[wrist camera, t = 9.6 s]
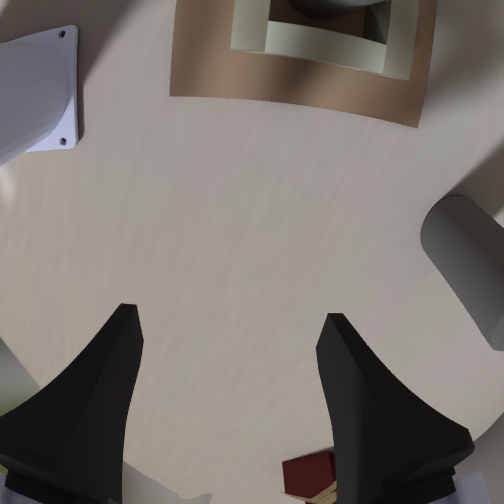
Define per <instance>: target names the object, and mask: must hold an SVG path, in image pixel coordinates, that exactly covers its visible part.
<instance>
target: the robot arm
mask: <svg viewBox="0 0 504 504" xmlns="http://www.w3.org/2000/svg"><path fill="white" fill-rule="evenodd" d="M63 31H65V36H64V37H63V38H62V37H61V33H62V32H63ZM77 44H78V28H77V26H75V25H67V26H63V27H59V28H54V29H50V30H46V31H42V32H39V33H35V34H31V35H28V36H25V37H21V38H18V39H15V40H12V41H9V42H5V43H0V167H1V166H2V165H4V164H5V163H7V162H9V161H10V160H12V159H13V158H15V157H16V156H18V155H20V154H21V153H23V152H32V151H43V150H56V149H71V148H74V147H75V146H76V145H77V144H78V141H79V137H78V120H77ZM63 138H65V139H66V141H67V142H66V144H64V143H63ZM143 343H144V340H143V335H142V330H141V325H140V320H139V315H138V310H137V305H134V304H123V303H121V304H120V305H119V306H118V308H117V309H116V310H115V311H114V313H113V314H112V315H111V317H110V318H109V319H108V320H107V322H106V323H105V324H104V325H103V327H102V328H101V329H100V331H99V332H98V333H97V334H96V335H95V337H94V338H93V339H92V340H91V341H90V343H89V344H88V345H87V346H86V347H85V348H84V349H83V350H82V352H81V353H80V354H79V355H78V356H77V357H76V358H75V359H74V360H73V361H72V362H71V363H70V364H69V365H68V366H67V367H66V368H65V369H64V370H63V371H62V372H61V373H60V374H59V375H58V376H57V377H56V378H55V379H54V380H52V381H51V382H50V383H49V384H48V385H47V386H45V387H44V388H43V389H42V390H40V391H39V392H38V393H37V394H35V395H34V396H32V397H31V398H30V399H28V400H27V401H25V402H24V403H23V404H21V405H20V406H18V407H16V408H15V409H13V410H11V411H10V412H8V413H6V414H4V415H3V416H1V417H0V464H1V465H2V466H4V467H5V468H7V469H8V470H9V471H8V474H7V475H5V474H3V473H1V472H0V504H122V463H123V448H124V437H125V428H126V420H127V415H128V410H129V406H130V402H131V398H132V394H133V390H134V386H135V383H136V379H137V375H138V371H139V367H140V363H141V356H142V349H143ZM316 353H317V362H318V370H319V374H320V378H321V383H322V387H323V391H324V395H325V398H326V402H327V406H328V411H329V415H330V419H331V424H332V431H333V440H334V450H335V462H336V484H337V494H336V504H490V500H489V496H488V493H487V490H486V487H485V484H484V480H483V477H482V474H481V472H480V470H477V471H475V472H473V473H471V474H468V475H466V476H464V477H461V478H459V479H457V480H455V481H453V478H452V476H453V475H455V470H454V466H455V465H457V464H458V463H460V462H461V461H463V460H464V459H465V458H466V457H468V456H469V455H470V454H472V452H473V451H474V449H475V446H474V443H473V440H472V438H471V435H470V433H469V430H468V429H467V428H465V427H463V426H461V425H460V424H458V423H456V422H454V421H452V420H450V419H449V418H447V417H445V416H444V415H442V414H441V413H439V412H438V411H436V410H435V409H433V408H432V407H431V406H429V405H428V404H426V403H425V402H424V401H423V400H421V399H420V398H419V397H418V396H416V395H415V394H414V393H413V392H412V391H410V390H409V389H408V388H407V387H406V386H405V385H404V384H403V383H402V382H401V381H400V380H398V379H397V378H396V377H395V376H394V375H393V374H392V373H391V371H390V370H389V369H388V368H387V367H386V366H385V365H384V364H383V363H382V362H381V361H380V359H379V358H378V357H377V356H376V355H375V353H374V352H373V351H372V350H371V349H370V347H369V346H368V345H367V344H366V342H365V341H364V340H363V339H362V337H361V336H360V335H359V334H358V332H357V331H356V330H355V328H354V327H353V326H352V325H351V323H350V322H349V321H348V319H347V318H346V317H345V316H344V314H343V313H328V314H327V317H326V320H325V323H324V326H323V329H322V332H321V335H320V338H319V340H318V343H317V346H316Z"/></svg>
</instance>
